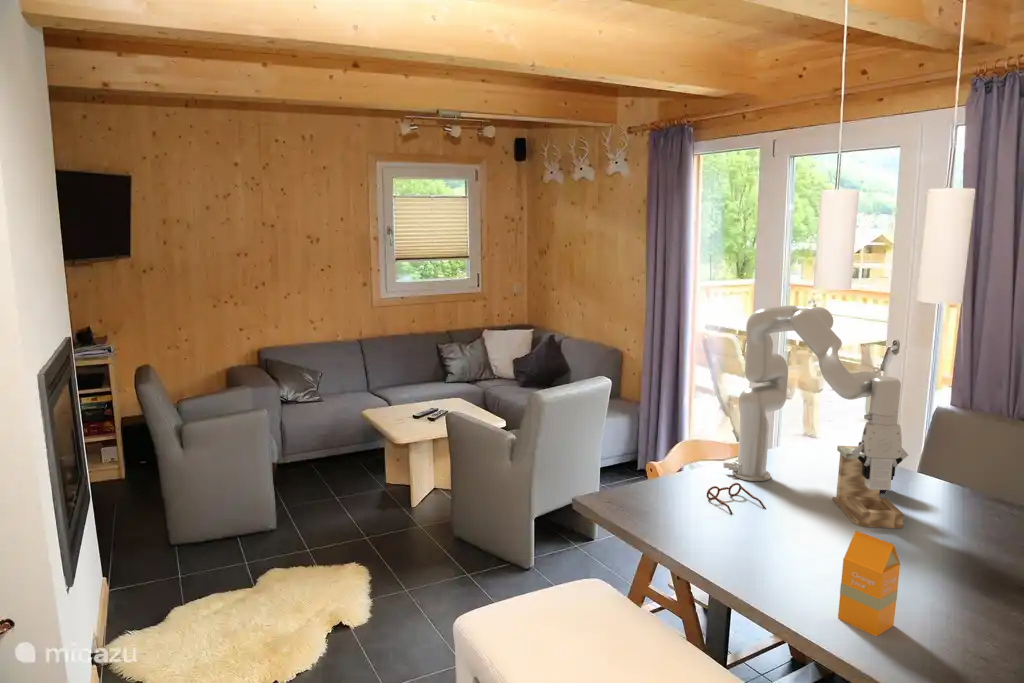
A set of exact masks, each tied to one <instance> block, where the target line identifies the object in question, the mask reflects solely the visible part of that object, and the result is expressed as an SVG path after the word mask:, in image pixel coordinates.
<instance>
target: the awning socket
mask: <svg viewBox="0 0 1024 683" xmlns="http://www.w3.org/2000/svg"><path fill="white" fill-rule="evenodd" d="M857 447H858V446H856V445H855V446H854V445H853V446H852V445H837V449H836V450H837V452H839V461H838V462H839V464H838V472H837V475H838V476H837V485H836V486H837V487H836V496H832V498H831V500H832V499H833V500H832V501H833V502H834V503H835V504H836V505H837V507H838V508H839V509H840V510H841V511H842V512H843V513H844V514H845V515H846V516H847V518H848V519H849V518H850V519H849V520H850V521H851V522H852V523H853V524H855V525H858V526H860V527H863V528H880V527H886V528H885V529H901V528H903V527H904V526H905V522H903V520H904V513H903V511H901V510H900V509H899V508H898V507H897V506H895V505H894V503H893V502H892V501H890V500H889V499H888V498H887V497H880V494H879V493H880V490H870V489H869V488H868V487H867V486H865V477H864V476H863V475H862V463H861V461H860V460H859V459H858V458H857V457H856V456H855V455H854V454H853V453H852V451H853V450H854V449H855V448H857ZM860 455H861V456H862V457H863V456H864V453H862V452H860Z"/></svg>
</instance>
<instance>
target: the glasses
mask: <svg viewBox="0 0 1024 683" xmlns="http://www.w3.org/2000/svg"><path fill="white" fill-rule="evenodd" d="M735 486H738V490H737V491H736V493H731V491H732V488H733V487H735ZM713 489H717V493H716V495H714V493H712V490H713ZM726 490H727V492H728V495H729V496H730V497H733V496H732V495H735V496H738V495H739V494H740V493H741V490H742V491H743V492H744V493H745V494H747V495H748V496H749V497H750V498H752V499H754V500H756V501H757V502H759V504H760V505H761V507H762V509H764V508H765V509H764V510H767V508H766V506H765V505H764V503H763V501H762V499H761V500H760V499H759V498H758V497H756V496H754V495H752V494H751V493H750V492H749V491H748V490H746V489H745V488H744V487H743V486H742V485H741V484H740V483H738V482H733V483H732V484H730V486H729V487H728V486H727V487H726V486H725V487H721V488H719V487H718V486H714V485H713V486H711V487H710V488H708V490H706V498H707V500H710V499H711V500H715V501H717V502H718V503H719V504H721V505H723V506H725V507H726V508H727V510H728V512H729V513H730V515H732V514H733V515H734V513H733V511H732V510H731V507H730V505H728V504H727V503H726V502H725V501H724V502H723V501H722V500H720V499H719V498H718V497H719V495H720V492H721V491H726ZM710 496H711V497H710Z"/></svg>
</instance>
